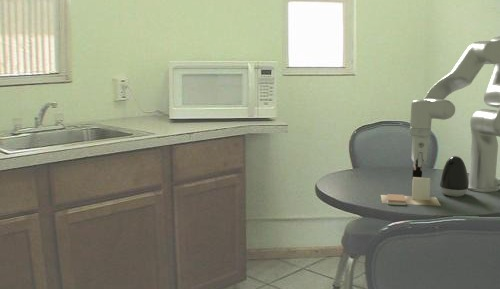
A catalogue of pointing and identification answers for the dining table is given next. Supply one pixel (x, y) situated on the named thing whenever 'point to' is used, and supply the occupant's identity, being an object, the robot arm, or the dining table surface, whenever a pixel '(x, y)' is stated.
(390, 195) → the tile
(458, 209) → the dining table surface
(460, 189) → the black rounded dome
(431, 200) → the cork mat
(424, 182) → the tile
